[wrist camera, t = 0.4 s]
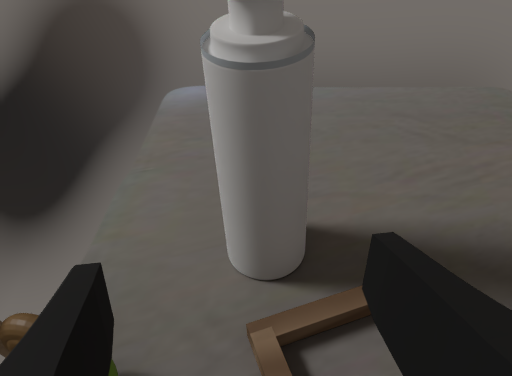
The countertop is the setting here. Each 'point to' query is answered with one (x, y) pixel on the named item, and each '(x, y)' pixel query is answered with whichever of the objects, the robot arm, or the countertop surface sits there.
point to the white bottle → (261, 132)
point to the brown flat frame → (301, 327)
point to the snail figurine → (15, 327)
